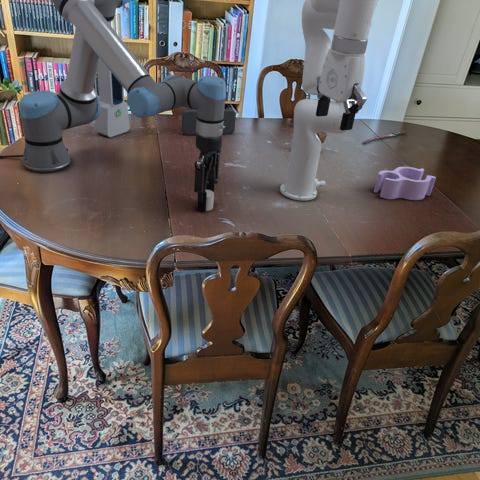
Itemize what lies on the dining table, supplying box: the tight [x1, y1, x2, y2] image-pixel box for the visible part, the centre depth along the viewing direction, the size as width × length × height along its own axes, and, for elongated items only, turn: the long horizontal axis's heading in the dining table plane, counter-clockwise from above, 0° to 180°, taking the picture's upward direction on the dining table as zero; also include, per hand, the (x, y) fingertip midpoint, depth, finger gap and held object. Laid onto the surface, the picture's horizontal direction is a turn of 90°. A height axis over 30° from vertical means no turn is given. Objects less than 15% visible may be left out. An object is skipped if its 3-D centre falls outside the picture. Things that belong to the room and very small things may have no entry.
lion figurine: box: [316, 132, 328, 145], centre depth 190 cm, size 15×5×9 cm, turn 110°
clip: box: [373, 166, 437, 201], centre depth 164 cm, size 20×12×7 cm, turn 109°
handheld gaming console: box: [180, 108, 237, 135], centre depth 196 cm, size 23×3×10 cm, turn 108°
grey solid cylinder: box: [196, 189, 215, 212], centre depth 143 cm, size 5×5×5 cm
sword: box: [363, 132, 408, 145], centre depth 213 cm, size 31×3×1 cm, turn 126°
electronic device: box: [94, 59, 131, 138], centre depth 181 cm, size 12×8×30 cm, turn 148°
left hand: (205, 206), depth 144 cm, fingers closed on grey solid cylinder, 5 cm apart
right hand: (333, 122), depth 110 cm, fingers open, 9 cm apart
